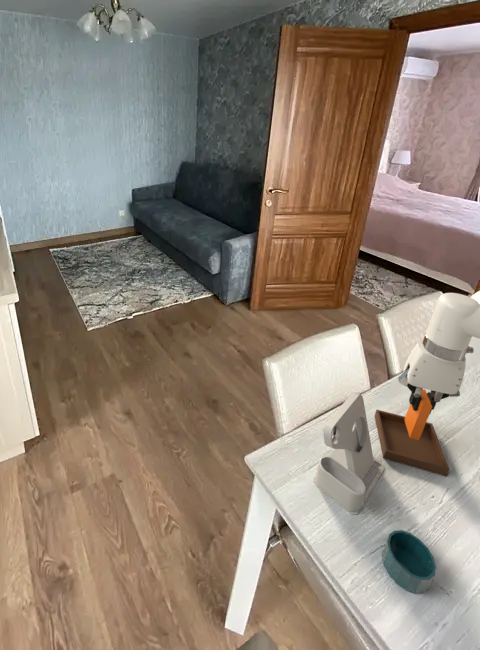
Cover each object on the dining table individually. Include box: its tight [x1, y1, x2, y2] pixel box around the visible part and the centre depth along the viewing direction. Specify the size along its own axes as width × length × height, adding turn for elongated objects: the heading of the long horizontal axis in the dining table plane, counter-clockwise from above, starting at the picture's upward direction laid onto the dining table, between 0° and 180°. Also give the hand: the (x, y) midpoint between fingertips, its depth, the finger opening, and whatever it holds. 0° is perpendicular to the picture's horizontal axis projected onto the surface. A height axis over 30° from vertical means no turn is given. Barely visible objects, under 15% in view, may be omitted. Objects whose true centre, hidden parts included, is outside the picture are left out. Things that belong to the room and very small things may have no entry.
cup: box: [381, 529, 437, 595], centre depth 63 cm, size 7×7×5 cm
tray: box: [374, 409, 451, 477], centre depth 88 cm, size 13×13×2 cm
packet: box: [404, 388, 432, 440], centre depth 84 cm, size 2×6×11 cm, turn 160°
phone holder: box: [313, 392, 385, 516], centre depth 77 cm, size 17×10×18 cm, turn 132°
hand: (419, 407), depth 84 cm, fingers closed on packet, 2 cm apart
